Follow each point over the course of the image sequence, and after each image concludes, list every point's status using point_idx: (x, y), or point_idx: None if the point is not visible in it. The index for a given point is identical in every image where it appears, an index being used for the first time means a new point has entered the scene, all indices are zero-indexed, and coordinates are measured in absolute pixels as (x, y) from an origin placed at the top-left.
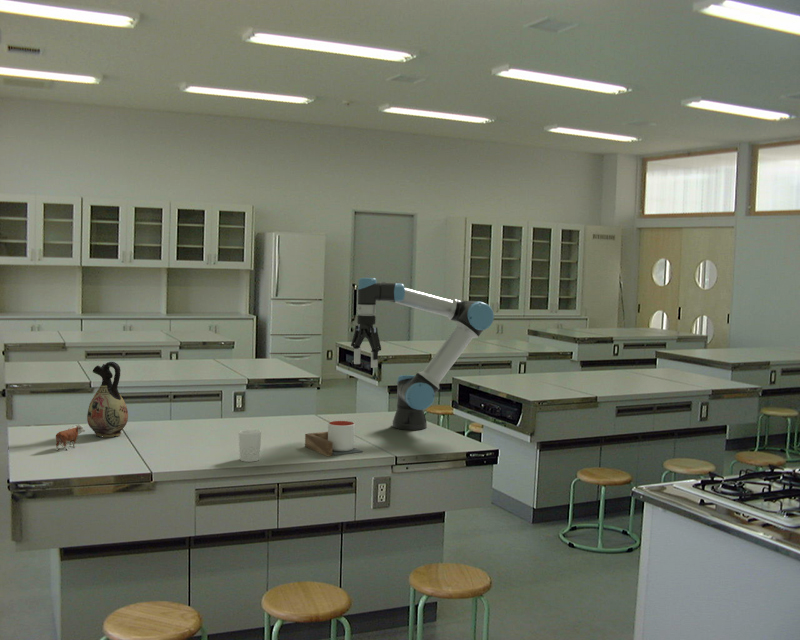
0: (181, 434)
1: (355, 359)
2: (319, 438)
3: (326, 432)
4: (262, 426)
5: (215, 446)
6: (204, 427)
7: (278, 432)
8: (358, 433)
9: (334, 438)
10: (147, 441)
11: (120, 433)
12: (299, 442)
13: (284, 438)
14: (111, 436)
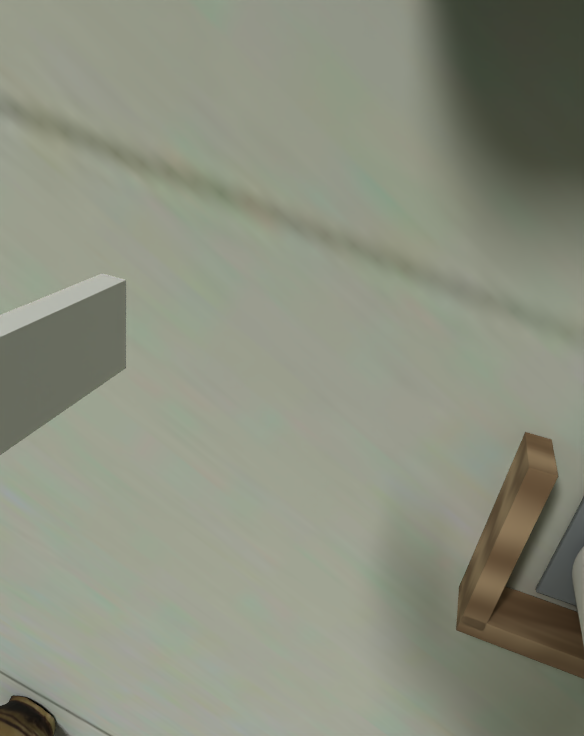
0: (84, 640)
1: (82, 390)
2: (581, 670)
3: (504, 567)
4: (65, 430)
5: (265, 701)
6: (18, 549)
7: (184, 467)
8: (409, 228)
9: None
10: (126, 723)
11: (41, 711)
12: (381, 545)
13: (287, 526)
14: (54, 727)
